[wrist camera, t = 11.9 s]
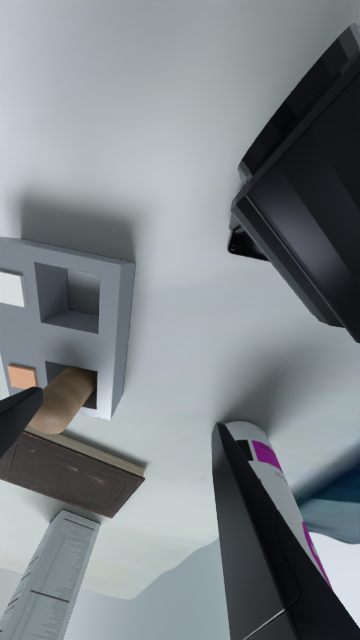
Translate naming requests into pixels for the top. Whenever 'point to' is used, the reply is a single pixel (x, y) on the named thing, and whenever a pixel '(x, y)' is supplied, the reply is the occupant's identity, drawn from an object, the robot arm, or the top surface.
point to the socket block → (63, 320)
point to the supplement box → (51, 581)
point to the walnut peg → (64, 399)
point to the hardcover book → (70, 472)
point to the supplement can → (273, 481)
